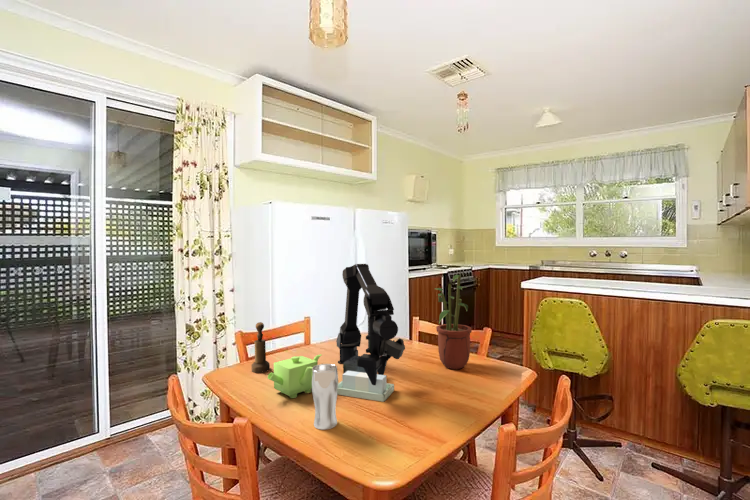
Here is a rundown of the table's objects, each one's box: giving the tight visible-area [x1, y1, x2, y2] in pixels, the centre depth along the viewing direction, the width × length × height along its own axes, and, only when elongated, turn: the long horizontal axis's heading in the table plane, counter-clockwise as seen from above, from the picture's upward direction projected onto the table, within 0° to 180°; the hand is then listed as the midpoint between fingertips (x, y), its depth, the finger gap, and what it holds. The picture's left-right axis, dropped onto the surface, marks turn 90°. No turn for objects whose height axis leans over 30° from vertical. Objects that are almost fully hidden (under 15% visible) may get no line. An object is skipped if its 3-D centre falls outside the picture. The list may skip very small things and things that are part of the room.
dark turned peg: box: [251, 321, 271, 374], centre depth 143 cm, size 7×6×18 cm
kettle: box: [267, 353, 323, 399], centre depth 122 cm, size 15×14×11 cm
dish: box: [337, 380, 395, 403], centre depth 121 cm, size 17×9×2 cm, turn 68°
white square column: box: [341, 371, 388, 394], centre depth 121 cm, size 14×4×5 cm, turn 68°
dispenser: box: [342, 355, 366, 375], centre depth 132 cm, size 9×9×7 cm
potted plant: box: [434, 274, 473, 370], centre depth 145 cm, size 17×16×35 cm
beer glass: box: [311, 363, 339, 431], centre depth 100 cm, size 7×7×15 cm
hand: (377, 381), depth 119 cm, fingers open, 6 cm apart
